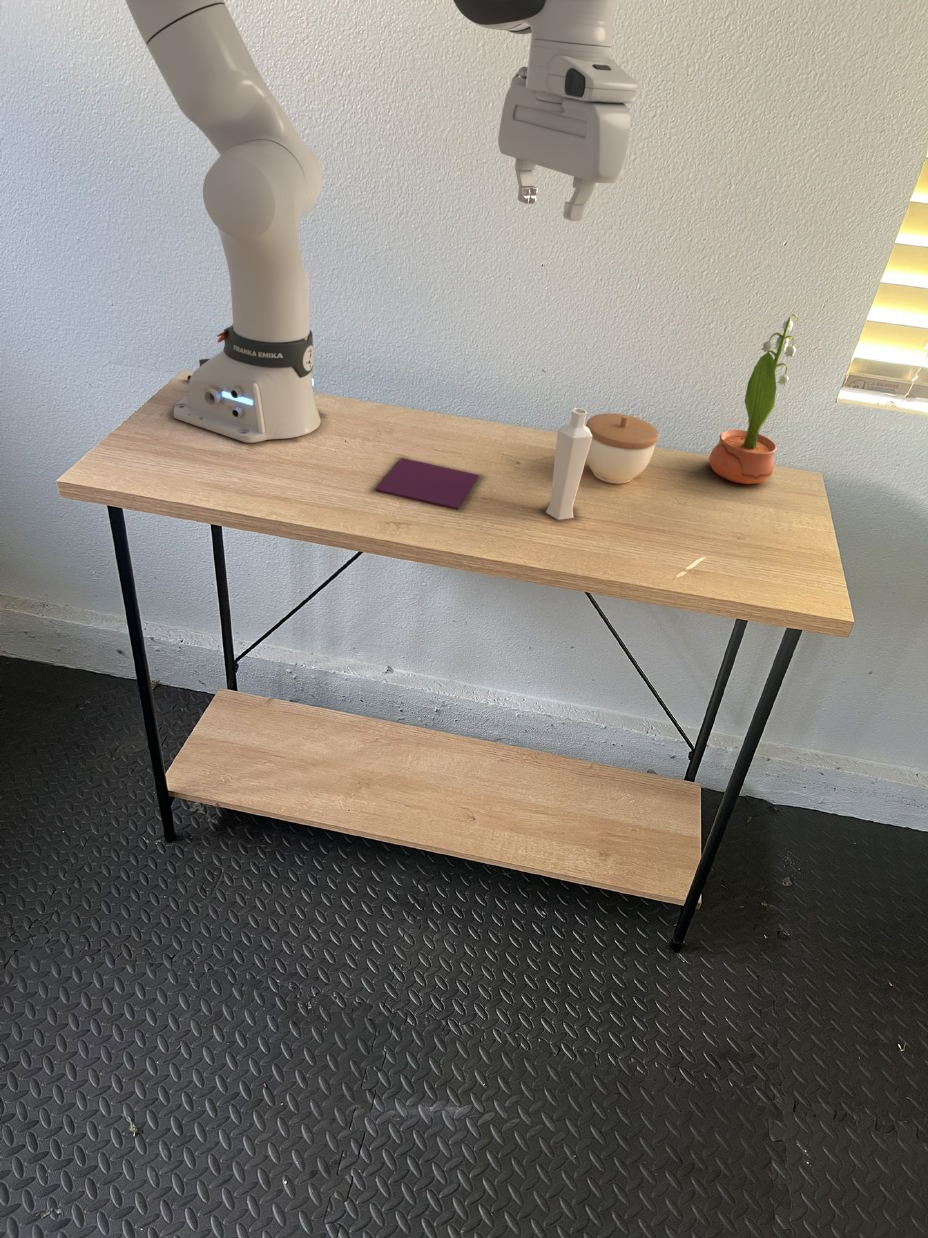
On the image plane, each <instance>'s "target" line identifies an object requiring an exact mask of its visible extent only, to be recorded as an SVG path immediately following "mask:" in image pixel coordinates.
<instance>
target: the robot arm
mask: <svg viewBox="0 0 928 1238" xmlns="http://www.w3.org/2000/svg"><path fill="white" fill-rule="evenodd" d="M619 1H620V0H453V3H454V4H455V6H456V8H457V10H458V11H459V12H460V14H462V15H463V17H465V19H468V20H469V21H470V22H472V23H473V24H475V25H477V26H479V27H481V28H483V29H484V28H485V29H489V30H498V31H506V32H510V33H511V34H515V35H528V34H530V44H529V53H528V61H527V62H528V63H527V66H521V67H520V68H519V69H518V71H517V72H516V73H515V74H514V76H513V77H512V78H511V82H510V86H509V88H508V90H507V92H506V94H505V98H504V101H503V102H504V103H503V107H502V111H501V117H500V123H499V131H498V137H497V145H498V149H499V152H500V153H501V155H504V156H507V157H510V158H514V159H515V165H514V171H515V175H516V180H517V185H518V192H517V193H518V194H517V200H518V201H519V202H520V203H523V204H527V205H528V204H530V205H533V204H535V203H536V202H537V195H538V187H536V186H535V180H534V172H533V171H535V170H536V169H537V166H539V167H542V168H545V169H549V170H552V171H555V172H558V173H561V174H564V175H568V176H571V177H573V180H572V188H573V189H574V191H573V193H572V194H571V195H572V196H571V197H570V200H569V201H565V202H564V206H563V210H564V211H563V212H562V213H563V214H562V217H563V219H566V220H568V221H571V222H581V221H582V220H583V217H584V211H585V205H586V204H587V202H588V201H589V199H590V198H591V196H592V195H593V193H594V191H595V188H596V184H612V183H613V184H614V183H615V182H617V181H618V179H619V177H620V176H621V175H622V173H623V171H624V168H625V163H626V158H627V154H628V147H629V141H630V135H631V126H632V115H631V111H630V108H629V107H628V105H626V104H629V105H630V104H633V103H634V102H635V101H636V97H637V92H638V83H637V81H636V79H634V78H633V77H632V76H631V75H630V74H628V72H626V70H624V69H623V68H622V67H620V65H618V63H617V62H616V61H615V60H614V59H612V58H611V56H612V51H613V50H612V49H613V43H614V42H613V41H614V40H613V38H614V37H613V19H614V15H615V11H616V8H617V7H618V6H617V5H618V3H619ZM125 3H126V5H127V7H128V10H129V12H130V15H131V17H132V20H133V21H134V24H135V26H136V28H137V30H138V32H139V34H140V36H141V38H142V40H143V42H144V43H145V45H146V48H147V49H148V52H149V53H150V55H151V57H152V59H153V61H154V63H155V64H156V67H157V68H158V70H159V73H160V74H161V76H162V78H163V79H164V82H165V84H166V85H167V87H168V89H169V91H170V93H171V94H172V96H173V99H174V100H175V102H176V104H177V106H178V108H179V110H180V111H181V112H182V114H183V115H184V116H185V117H186V119H187V120H189V121H190V122H192V123H193V125H195V126H196V127H197V128H198V129H199V130H200V131H201V132H202V133H203V134H204V137H206V139H207V140H208V141H209V142H210V143H211V144H212V146H213V147H214V148H215V150H216V151H217V153H218V154H219V156H218V158H217V159H216V160H215V161H214V162H213V163H212V164H211V166H210V168H209V169H208V171H207V172H206V175H205V177H204V180H203V183H202V198H203V204H204V207H205V209H206V210H205V211H206V212H207V214H208V217H209V218H210V219H211V221H212V223H213V224H214V225H215V226H216V228H217V230H218V233H219V237H220V241H221V245H222V248H223V252H224V256H225V260H226V264H227V269H228V275H229V283H230V297H231V298H230V299H231V313H232V325H230V326H228V327H226V328H224V329H223V331H222V332H221V333H219V334H217V335H216V337H218V339H217V343H222V342H224V346H223V350H221V351H220V352H218V353H217V354H215V355H214V356H212V357H211V358H201V359H199V361H198V362H199V367H198V368H196V369H195V370H194V371H193V373H192V374H189V375H187V380H188V386H187V394H186V395H185V396H184V397H182V398H181V399H180V400H178V401H177V402H176V403H175V405H174V407H173V418H174V419H176V420H179V421H182V422H185V423H187V424H190V425H193V426H196V427H199V428H202V429H205V430H208V431H210V432H213V433H216V434H220V435H222V436H225V437H228V438H231V439H233V440H237V441H239V442H243V443H246V444H254V443H260V442H263V441H268V440H284V439H293V438H297V437H298V438H299V437H303V436H305V435H309V434H310V433H312V432H314V431H315V430H317V429H318V428H319V427H320V425H321V424H322V423H321V422H322V420H321V416H320V413H319V410H318V406H317V401H316V396H315V391H314V385H315V384H314V381H315V380H314V378H313V373H312V371H313V367H314V339H313V331H312V330H311V326H310V325H311V324H310V323H311V322H310V321H311V319H310V314H311V313H310V312H311V310H310V306H311V304H310V298H311V297H310V277H309V273H308V271H307V270H306V268H305V263H304V261H303V256H302V250H301V245H300V239H299V223H300V220H301V219H302V218H304V217H306V216H307V215H308V214H309V213H310V212H311V211H312V210H313V209H314V207H315V205H316V204H317V202H318V200H319V197H320V195H321V191H322V188H323V182H324V175H323V169H322V164H321V161H320V159H319V158H318V156H317V154H316V153H315V152H314V150H313V149H312V148H311V147H310V146H309V145H308V144H307V143H306V142H305V141H304V140H303V138H302V137H301V135H300V133H298V131H297V129H296V127H295V126H294V124H293V123H292V121H291V120H290V118H289V117H288V115H287V114H286V112H285V111H284V109H283V107H282V106H281V105H280V103H279V102H278V100H277V99H276V98H275V95H274V94H273V93H272V91H271V90H270V88H269V87H268V85H267V84H266V82H265V81H264V79H263V77H262V75H261V74H260V71H259V70H258V68H257V66H256V64H255V63H254V60H253V58H252V56H251V54H250V52H249V50H248V47H247V46H246V44H245V41H244V39H243V37H242V35H241V34H240V31H239V30H238V27H237V24H236V23H235V21H234V19H233V17H232V15H231V13H230V11H229V9H228V6H227V5H226V3H225V0H125Z"/></svg>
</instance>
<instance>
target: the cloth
mask: <svg viewBox="0 0 928 1238" xmlns="http://www.w3.org/2000/svg"><path fill="white" fill-rule="evenodd" d="M479 478H480V475H479V474H476V473H472V472H468V471H462V470H457V469H454V468H449V467H444V466H440V465H436V464H430V463H426V462H422V461H417V460H413V459H408V458H404V457H402V458H401V459H400V460H399V461H398V462H397V464H396V465H395V466H394V467H393V468H392V469H391V471H390V472H389V473H388V474H387V475H386V476H385V477H384V479H383V480H382V481H381V482H380V483H379V484H378V485H377V486H376V488H375V491H376V492H380V493H385V494H389V495H393V496H398V497H402V498H407V499H410V500H414V501H419V502H423V503H427V504H431V505H437V506H441V507H446V508H450V509H453V510H454V509H455V510H459V509H460V507H461V505H462V504H463V502H464V500H465V499H466V497H467V496H468V494H469V493H470V491H471V490H472V488H473V486H475V484H476V482H477V480H479Z"/></svg>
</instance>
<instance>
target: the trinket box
mask: <svg viewBox="0 0 928 1238" xmlns="http://www.w3.org/2000/svg"><path fill="white" fill-rule="evenodd" d="M585 426H586V427H588V428H589V430H590V432H591V434H592V440H591V443H590V447H589V450H588V454H587V458H586V461H585V462H586V464H587V466H588V467H589V469H590V470H591V471H592V474H593V476H594V477H595V478H597V479H598V480H600V481H602V482H605V483H609V484H616V485H617V484H618V485H620V484H621V485H623V484H627V483H629V482H631V481H632V480H633V479H634V478H636V477H638V476H639V475H641V474H642V473H643V471H645V469H646V468H647V466H648V465H649V463H650V461H651V459H652V456H653V454H654V451H655V447H656V444H657V442H658V439H659V431H658V429H657V428H656V427H655V426H654V425H653V424H651V423H650V422H648V421H646V420H644V419H641V418H639V417H636V416H632V415H628V414H623V413H599V414H594V415H592V416H591V417H589V418H588V419H587V421H586V424H585Z"/></svg>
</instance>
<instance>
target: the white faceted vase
mask: <svg viewBox="0 0 928 1238" xmlns="http://www.w3.org/2000/svg"><path fill="white" fill-rule="evenodd" d="M570 412H571V414H570V420H569V422H568V423H565V424H564V425H562V426H561V427H559V428H558V429H557V433H556V443H555V444H556V445H555V455H554V464H553V475H552V483H551V491H550V492H551V493H550V502H549V504H548V506H547V508H546V510H545V513H546V514H548V515H549V516H551V517H553V518H554V519H556V520H559V521H560V520H569V519H574V503H575V500H576V496H577V493H578V489H579V485H580V482H581V479H582V475H583V472H584V467H585V464H586V462H587V461H586V458H587V454H588V450H589V447H590V443H591V440H592V434H591V432H590V430H589V428H588V427H586V424H585V423H586V417H587V415H588V411H587V409H584V408H579V407H574V408H572V409H571V410H570Z"/></svg>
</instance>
